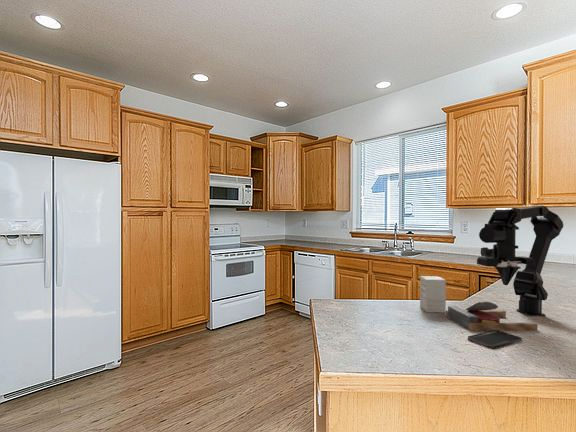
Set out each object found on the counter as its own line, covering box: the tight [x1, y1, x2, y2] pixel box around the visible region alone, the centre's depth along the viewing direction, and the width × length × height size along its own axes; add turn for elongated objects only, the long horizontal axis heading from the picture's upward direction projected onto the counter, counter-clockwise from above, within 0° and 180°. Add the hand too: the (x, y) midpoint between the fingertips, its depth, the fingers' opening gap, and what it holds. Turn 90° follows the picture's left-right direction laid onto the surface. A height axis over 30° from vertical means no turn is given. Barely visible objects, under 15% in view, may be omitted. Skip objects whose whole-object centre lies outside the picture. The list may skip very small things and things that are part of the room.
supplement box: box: [419, 275, 447, 314], centre depth 123 cm, size 7×7×13 cm
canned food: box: [465, 301, 501, 323], centre depth 108 cm, size 11×10×10 cm
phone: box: [467, 330, 523, 350], centre depth 93 cm, size 8×1×15 cm
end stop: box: [447, 305, 478, 330], centre depth 108 cm, size 3×12×4 cm, turn 4°
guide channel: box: [445, 309, 538, 332], centre depth 109 cm, size 22×15×2 cm
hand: (505, 285), depth 115 cm, fingers closed
